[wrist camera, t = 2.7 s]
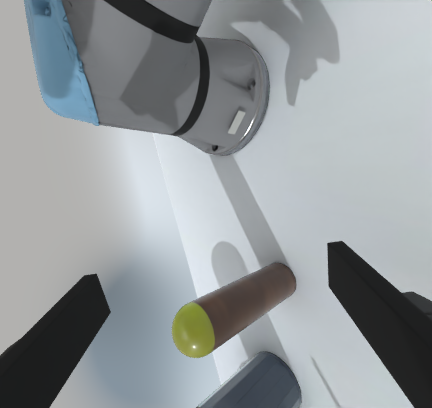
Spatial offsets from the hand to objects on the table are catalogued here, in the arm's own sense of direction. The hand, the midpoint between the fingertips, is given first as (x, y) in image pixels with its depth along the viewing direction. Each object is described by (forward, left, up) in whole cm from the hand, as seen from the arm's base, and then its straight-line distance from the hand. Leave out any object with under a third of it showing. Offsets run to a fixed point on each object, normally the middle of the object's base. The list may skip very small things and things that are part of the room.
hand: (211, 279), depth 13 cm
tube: (+11, -20, -17) cm, 29 cm away
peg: (+1, -9, -17) cm, 20 cm away
